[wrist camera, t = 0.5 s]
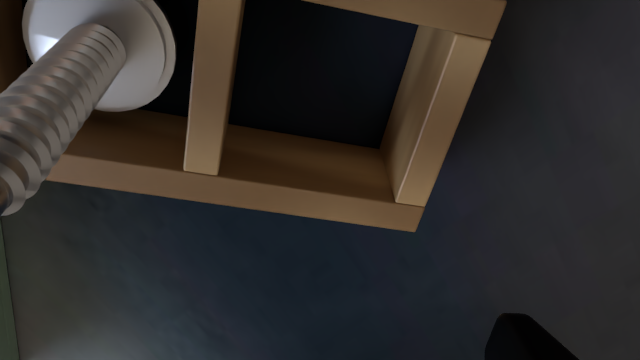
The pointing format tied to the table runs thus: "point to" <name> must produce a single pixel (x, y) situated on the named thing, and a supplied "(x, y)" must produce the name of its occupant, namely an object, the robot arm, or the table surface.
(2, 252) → the open square box
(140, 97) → the screw
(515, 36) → the table surface
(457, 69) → the rack
